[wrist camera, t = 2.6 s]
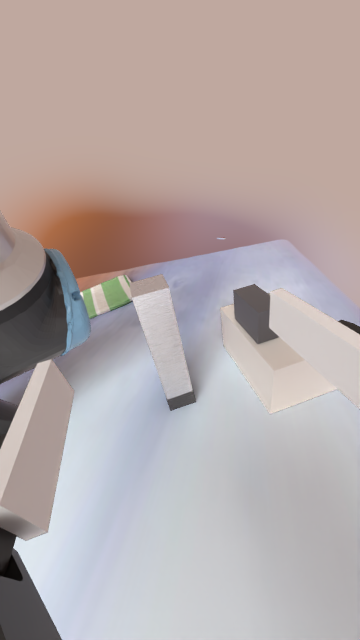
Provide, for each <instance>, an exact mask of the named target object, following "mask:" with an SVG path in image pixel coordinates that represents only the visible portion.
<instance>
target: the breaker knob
mask: <svg viewBox="0 0 360 640" xmlns="http://www.w3.org/2000/svg"><path fill="white" fill-rule="evenodd" d="M233 293H234V314H235V319H236V321H237V322H238V323H239V324H240V325H241V326H242V327H243V328H244V329H245V331H246V332H247V333H248V334H249V335H250V336H251V337H252V338H253V340H254V341H255V342H256V343H257V344H260V343H263V342H266V341H269V340H272V339H275V338H278V337H279V336H278V335H277V334H276V333H275V332H273V331H272V330H271V329H270V328H269V316H270V295H269V294H267V293H266V292H265V291H263V290H262V289H260V288H259V287H258V286H256V285H255V284H253V285H250V286H247V287H243V288H240V289H237V290H233Z"/></svg>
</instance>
